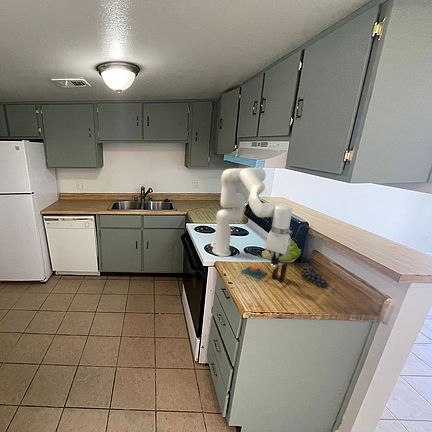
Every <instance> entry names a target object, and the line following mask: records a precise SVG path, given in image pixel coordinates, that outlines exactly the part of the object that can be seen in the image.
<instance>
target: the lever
mask: <svg viewBox="0 0 432 432" xmlns="http://www.w3.org/2000/svg"><path fill="white" fill-rule="evenodd" d="M283 264H284V262H280V263H278V265H274V264H271V263H270V264H269V268H270V269H271V270H273V269H276V268H277V267H279V269H282V265H283Z"/></svg>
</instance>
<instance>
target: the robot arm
mask: <svg viewBox="0 0 432 432" xmlns="http://www.w3.org/2000/svg"><path fill="white" fill-rule="evenodd" d="M266 177H267V173H266V171H265V170H264V169H263V168H262V167H246V168H243V167H242V168H239V167H237V168H236V167H235V168H227V169H225V170H224V171H223V172H222V174H221V177H220V181H221V191H220V192H221V193H220V206H221V207H222V208H224V209H220V210H218V211H217V212H216V231H215V232H216V233H215V241H214V243H213V242H212V243H211V244H210V247H211V248H212V249H211V252H212V254H214V255H216V256H219V257H229V256H231V254H232V252H231V250H230V243H231V236H232V235H231V234H232V228H231V226H230V224H234V223H240V222H241V221H242V220H243V217H244V211H245V203H246V200H245V196H244V195H243V194H242V193H239V192H236V185H235V183H242V184H243V185H244V186H245V188H246V190H247V191H248V192H249V193H248V206H249V207H250V209H251V211H252V213H253V214H254V215H255V216H256V217H258V218H272V223H271V229H270V231H269V232H268V235H267V238H266V241H265V247H264V248H265V249H264V251H265V250H266V251H268V252H269V253H270V254H271V256H272V258H271V259H270V262H271V263H270V264H274V265H276V264H277V263H278V261H279V257H281V256H285V257H286V256H288V252H289V249H290V238H291V234H292V233H293V230H291V229H290V225H291V219H292V214H293V207H291V206H290V205H285V204H283V203H280V202H277V201H273V202H272V201H271V202H270V201H269V202H262V201H261V200H260V198H259V195H261V194H262V193H263V192H264V191H265V189H266V185H265V183H264V180H265V179H266ZM276 252H277V254H276Z"/></svg>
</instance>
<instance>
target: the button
mask: <svg viewBox="0 0 432 432" xmlns="http://www.w3.org/2000/svg"><path fill="white" fill-rule="evenodd" d="M250 266H251V270H253V271H258V268H259V266H257V265H253V264H252V265H250Z"/></svg>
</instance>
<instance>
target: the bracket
mask: <svg viewBox="0 0 432 432" xmlns="http://www.w3.org/2000/svg"><path fill="white" fill-rule="evenodd" d="M278 263H281V262H280V260H279V261H278ZM278 263H277V264H276V265H278ZM288 263H289V262H283V265H282V268H281V270H280V276H279V281H278V282H279V283H281V284H282V283H283V282H284V281H285V280H286V275H287V269H288V265H289V264H288ZM279 269H280V268H279V267H277V268H276V269H272V275H271V280H276V278H278V274H279Z"/></svg>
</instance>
